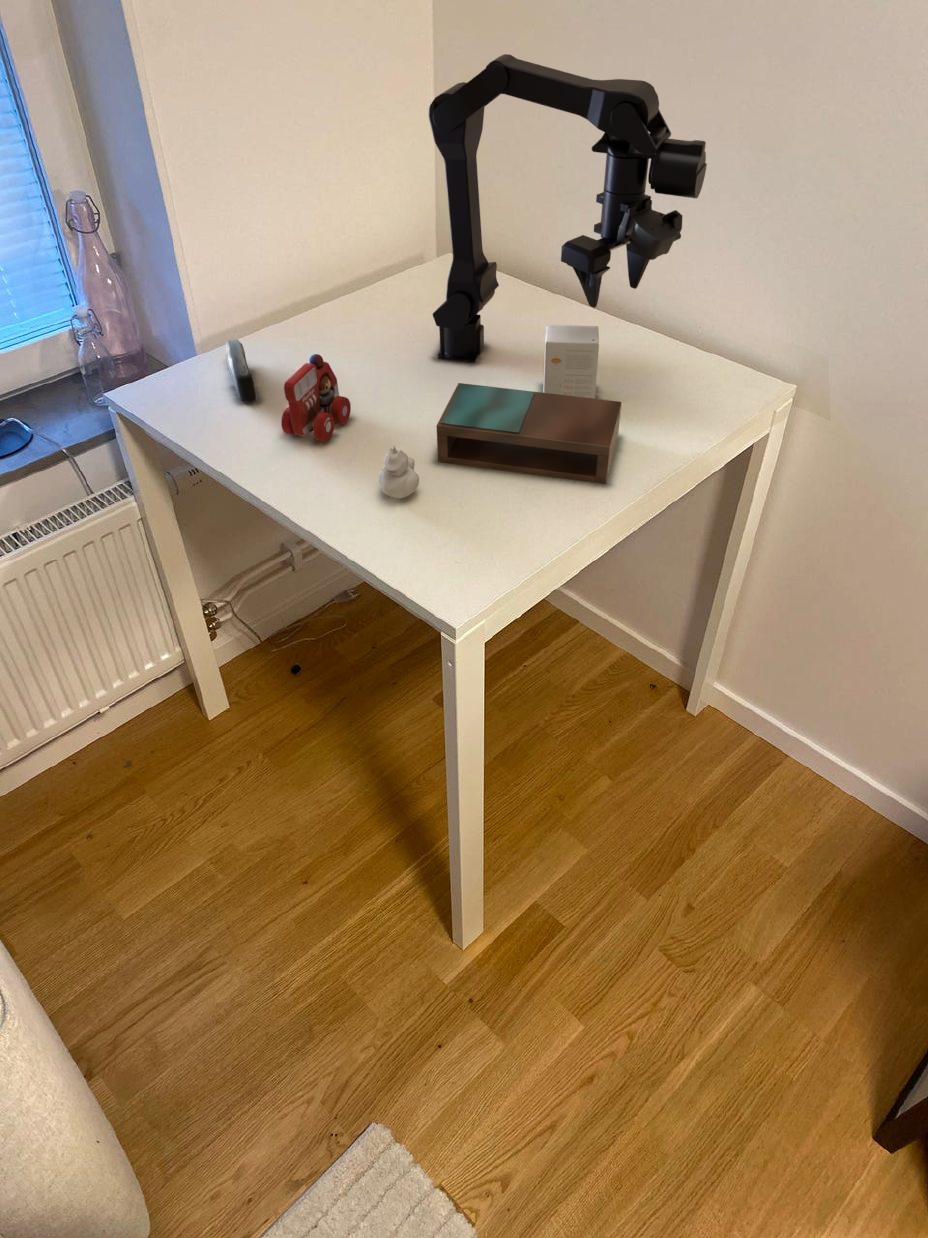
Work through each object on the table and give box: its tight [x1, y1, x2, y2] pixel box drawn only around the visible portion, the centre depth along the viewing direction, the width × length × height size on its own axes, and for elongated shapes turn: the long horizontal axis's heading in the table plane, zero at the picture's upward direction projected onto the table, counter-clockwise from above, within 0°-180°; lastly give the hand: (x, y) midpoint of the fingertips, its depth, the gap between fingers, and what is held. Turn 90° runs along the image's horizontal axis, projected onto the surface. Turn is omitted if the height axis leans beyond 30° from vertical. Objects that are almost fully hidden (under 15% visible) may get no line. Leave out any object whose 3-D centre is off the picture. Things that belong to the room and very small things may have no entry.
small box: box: [542, 324, 600, 399], centre depth 142 cm, size 8×6×10 cm
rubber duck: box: [378, 445, 420, 499], centre depth 125 cm, size 5×7×8 cm
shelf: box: [435, 382, 623, 485], centre depth 133 cm, size 24×12×6 cm, turn 75°
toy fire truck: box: [280, 353, 352, 442], centre depth 137 cm, size 7×12×10 cm, turn 157°
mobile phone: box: [225, 339, 257, 403], centre depth 149 cm, size 5×3×15 cm
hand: (613, 296), depth 139 cm, fingers open, 9 cm apart
